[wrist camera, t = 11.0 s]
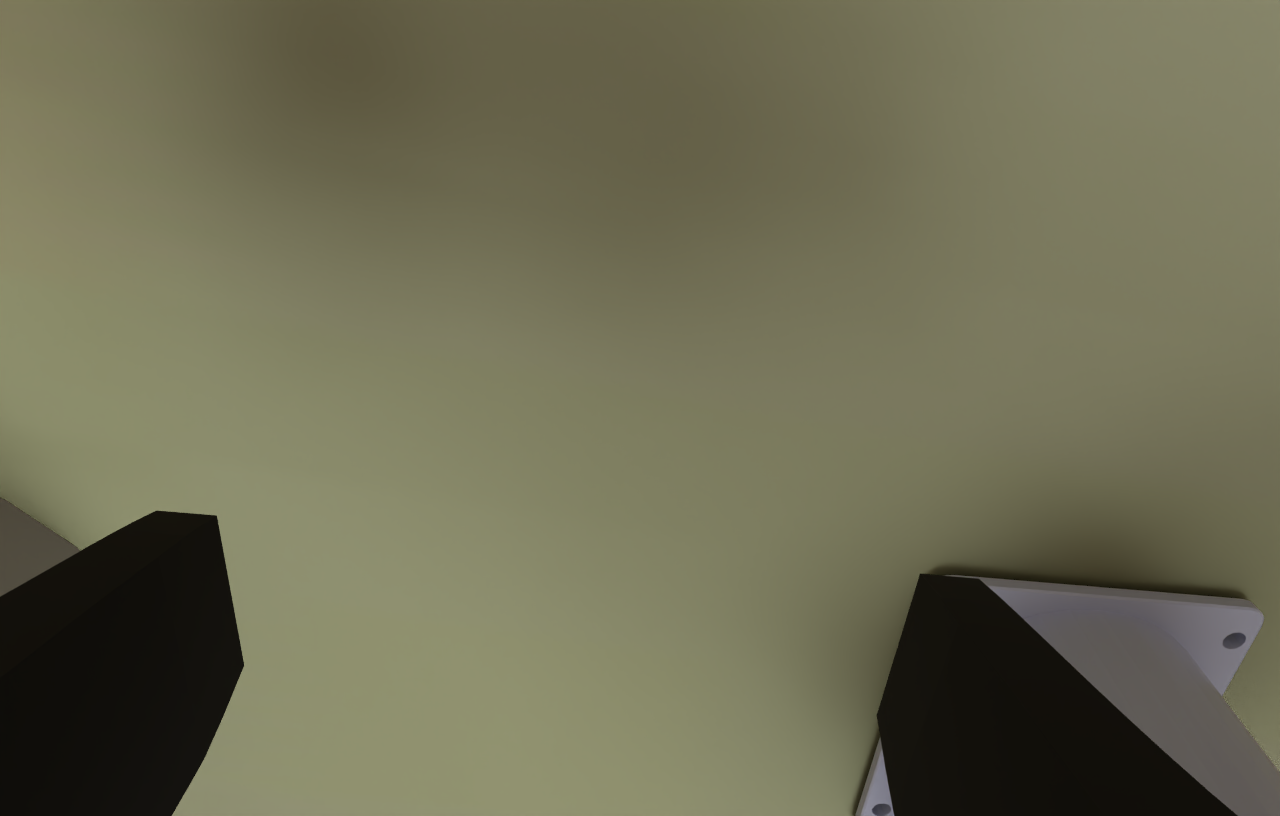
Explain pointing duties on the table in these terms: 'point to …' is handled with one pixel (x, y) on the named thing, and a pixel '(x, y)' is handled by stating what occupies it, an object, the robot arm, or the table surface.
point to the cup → (27, 547)
